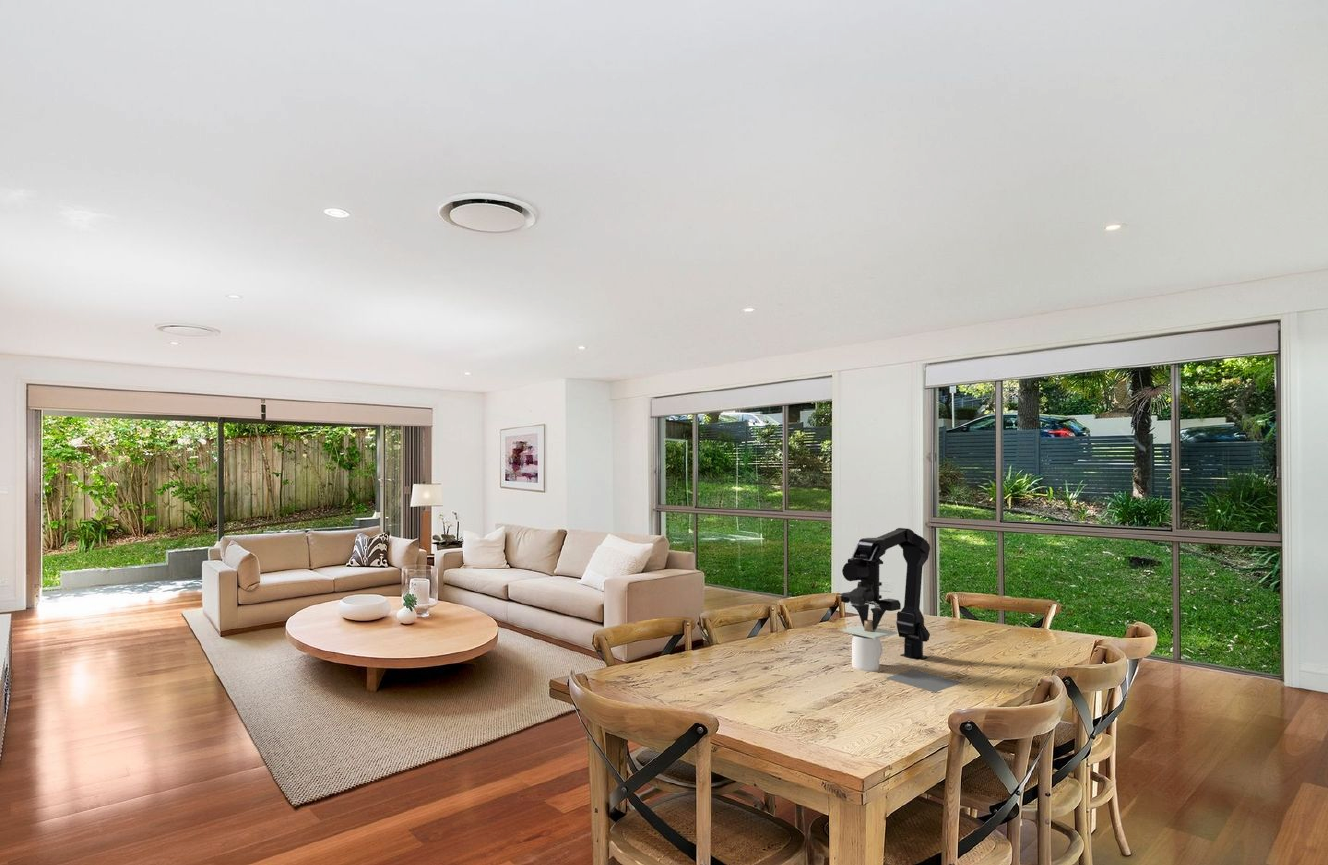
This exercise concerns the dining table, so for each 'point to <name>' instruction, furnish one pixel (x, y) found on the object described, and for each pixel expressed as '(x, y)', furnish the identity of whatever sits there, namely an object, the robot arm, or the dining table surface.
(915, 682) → the mat
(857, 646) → the mug
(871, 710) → the dining table surface
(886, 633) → the panel
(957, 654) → the dining table surface
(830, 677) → the dining table surface
